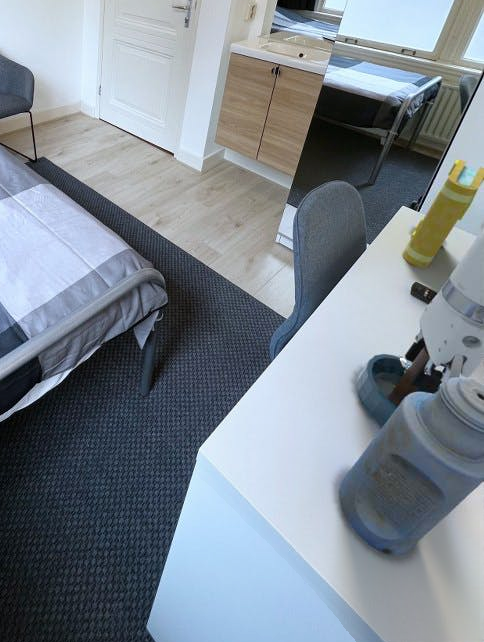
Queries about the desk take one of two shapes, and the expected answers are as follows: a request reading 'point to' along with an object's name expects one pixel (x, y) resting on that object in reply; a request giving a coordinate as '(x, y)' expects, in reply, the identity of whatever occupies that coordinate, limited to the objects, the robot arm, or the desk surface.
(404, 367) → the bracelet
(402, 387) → the brown wooden dowel
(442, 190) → the yellow toy tower
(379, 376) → the bowl
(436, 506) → the bottle
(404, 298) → the desk surface
